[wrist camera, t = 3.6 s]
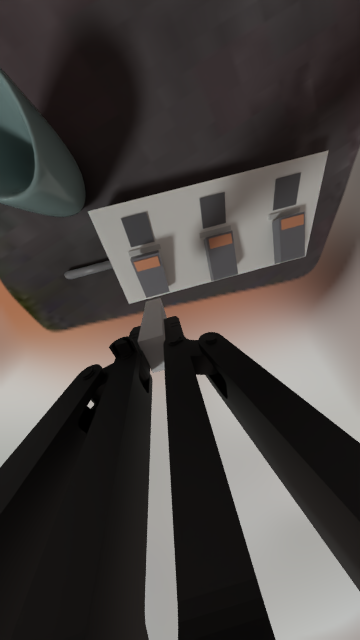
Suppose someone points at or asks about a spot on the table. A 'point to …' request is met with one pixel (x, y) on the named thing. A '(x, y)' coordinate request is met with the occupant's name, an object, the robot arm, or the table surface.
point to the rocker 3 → (289, 237)
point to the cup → (35, 159)
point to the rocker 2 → (221, 255)
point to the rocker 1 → (150, 273)
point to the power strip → (206, 223)
